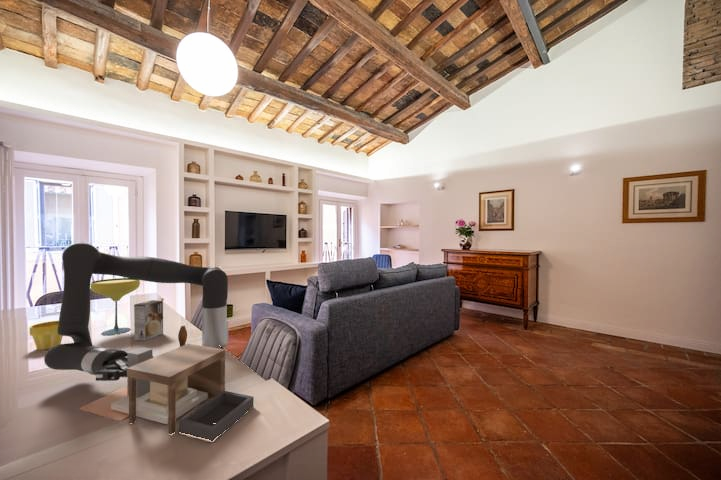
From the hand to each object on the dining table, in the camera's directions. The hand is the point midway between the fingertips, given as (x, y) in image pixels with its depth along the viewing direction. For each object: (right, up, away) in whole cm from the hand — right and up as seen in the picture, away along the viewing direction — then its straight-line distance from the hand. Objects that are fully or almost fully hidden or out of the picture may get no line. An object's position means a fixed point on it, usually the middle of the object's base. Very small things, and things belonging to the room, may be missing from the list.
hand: (147, 370), depth 79 cm
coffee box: (-39, -9, +52) cm, 65 cm away
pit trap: (+24, -9, -7) cm, 27 cm away
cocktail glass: (-60, -8, +58) cm, 84 cm away
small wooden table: (+11, -9, -3) cm, 15 cm away
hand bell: (-1, -9, +17) cm, 19 cm away
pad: (-6, -9, +2) cm, 11 cm away
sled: (+5, -8, -2) cm, 10 cm away
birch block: (+8, -7, -2) cm, 11 cm away
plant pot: (-71, -8, +39) cm, 81 cm away
